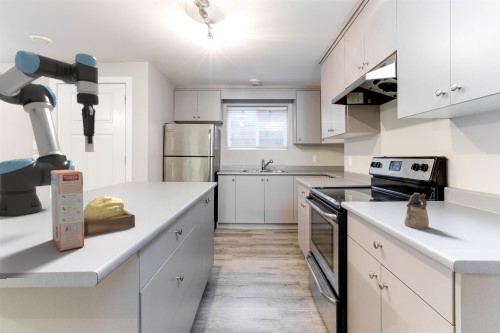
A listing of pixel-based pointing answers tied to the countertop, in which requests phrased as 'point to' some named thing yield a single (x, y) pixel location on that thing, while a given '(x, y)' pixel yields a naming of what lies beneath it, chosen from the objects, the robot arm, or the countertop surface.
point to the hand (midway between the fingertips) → (89, 151)
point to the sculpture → (103, 209)
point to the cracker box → (67, 209)
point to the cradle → (109, 224)
